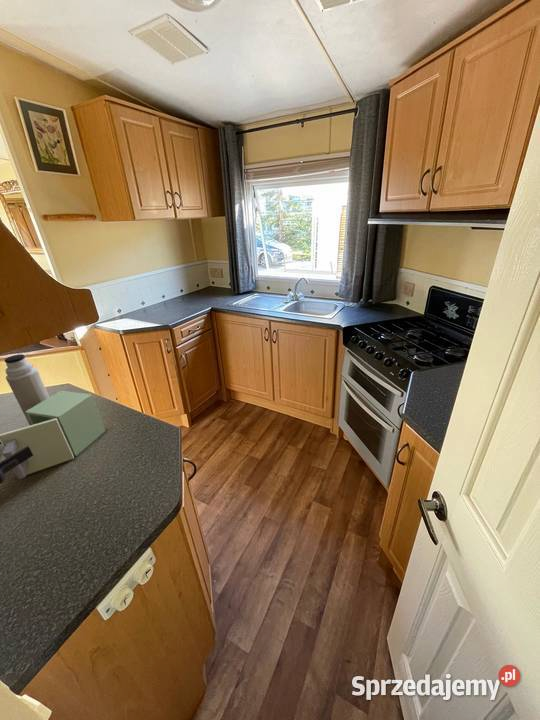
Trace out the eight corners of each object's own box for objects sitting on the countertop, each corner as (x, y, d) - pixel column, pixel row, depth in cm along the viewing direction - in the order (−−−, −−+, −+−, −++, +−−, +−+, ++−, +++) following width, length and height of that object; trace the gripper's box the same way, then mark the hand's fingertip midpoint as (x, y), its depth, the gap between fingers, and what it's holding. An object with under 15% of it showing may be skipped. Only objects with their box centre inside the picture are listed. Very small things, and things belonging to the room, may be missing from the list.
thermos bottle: (29, 433, 100) (-9, 360, 88) (53, 419, 107) (21, 350, 94) (42, 439, 97) (5, 364, 85) (66, 425, 103) (35, 353, 91)
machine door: (73, 471, 83) (54, 431, 77) (17, 491, 77) (-8, 449, 71) (74, 456, 88) (56, 417, 82) (22, 474, 83) (-1, 434, 77)
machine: (76, 456, 89) (58, 416, 82) (44, 449, 92) (24, 411, 86) (105, 431, 99) (91, 394, 93) (75, 426, 102) (60, 390, 96)
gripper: (-122, 509, 63) (-7, 446, 80) (-67, 549, 53) (50, 467, 70) (-145, 483, 60) (-20, 423, 77) (-91, 521, 50) (38, 443, 67)
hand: (14, 444), depth 74 cm, fingers open, 13 cm apart
